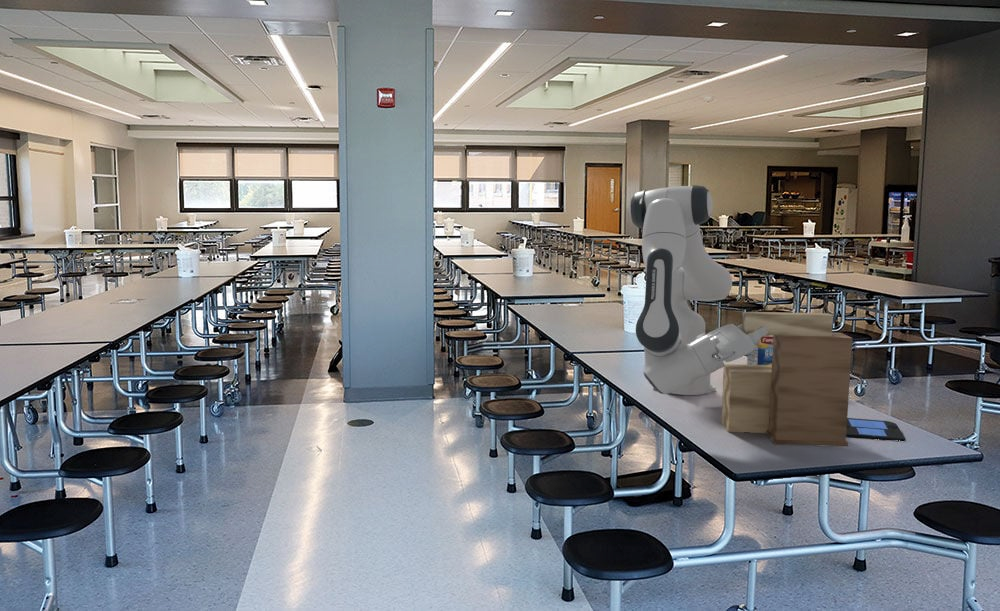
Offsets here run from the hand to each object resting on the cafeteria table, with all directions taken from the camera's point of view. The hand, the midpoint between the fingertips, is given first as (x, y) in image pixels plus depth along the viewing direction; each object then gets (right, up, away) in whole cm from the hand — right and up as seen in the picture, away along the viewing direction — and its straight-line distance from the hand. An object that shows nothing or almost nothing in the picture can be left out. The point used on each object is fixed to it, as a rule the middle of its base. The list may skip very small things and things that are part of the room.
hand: (761, 325), depth 186 cm
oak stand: (+6, -27, +13) cm, 30 cm away
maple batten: (+6, -2, 0) cm, 6 cm away
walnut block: (+12, -28, +3) cm, 30 cm away
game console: (+30, -28, +10) cm, 42 cm away
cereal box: (+23, -20, +63) cm, 70 cm away
